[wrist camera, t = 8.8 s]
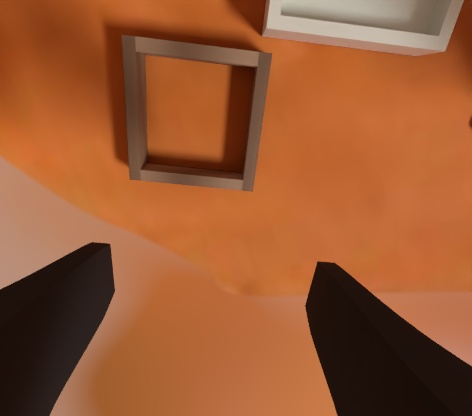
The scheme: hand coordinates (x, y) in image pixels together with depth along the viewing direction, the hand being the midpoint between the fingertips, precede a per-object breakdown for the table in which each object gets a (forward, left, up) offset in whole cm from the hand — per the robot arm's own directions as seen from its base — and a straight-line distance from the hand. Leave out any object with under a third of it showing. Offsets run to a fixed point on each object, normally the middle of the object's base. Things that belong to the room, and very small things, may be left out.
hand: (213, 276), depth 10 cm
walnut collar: (+2, -4, -10) cm, 11 cm away
